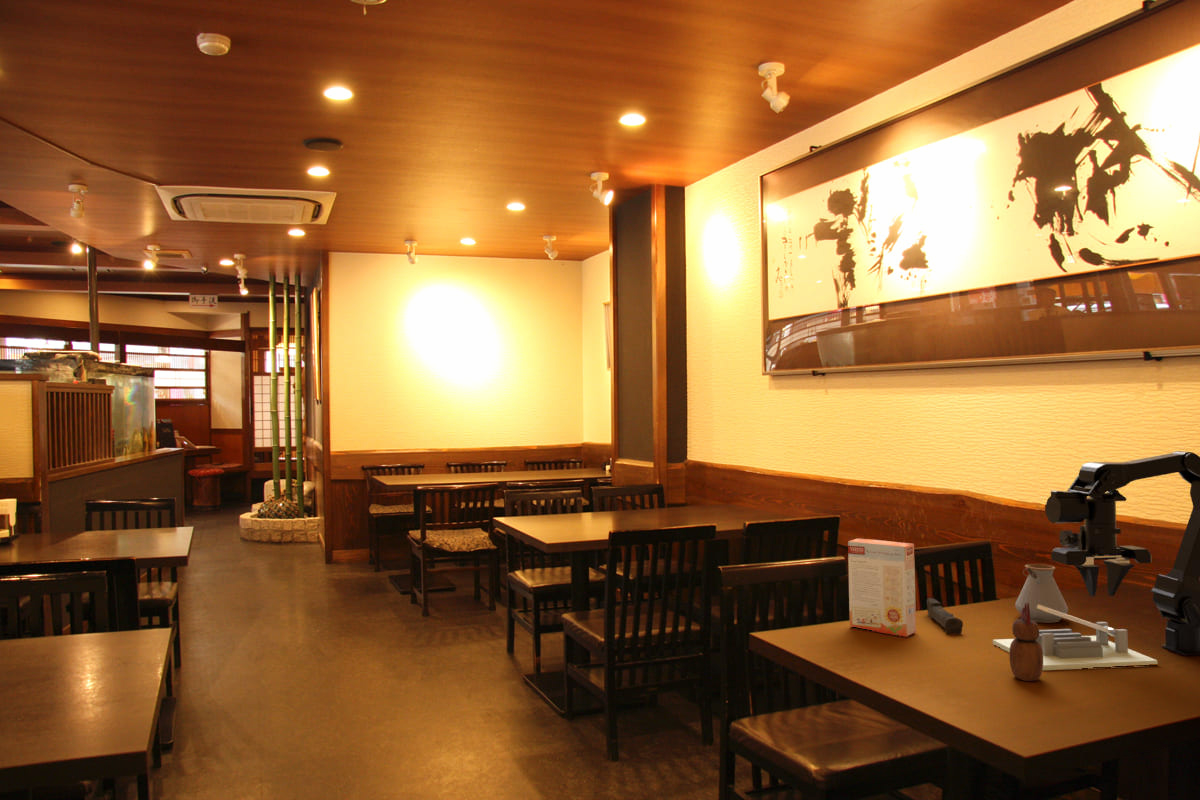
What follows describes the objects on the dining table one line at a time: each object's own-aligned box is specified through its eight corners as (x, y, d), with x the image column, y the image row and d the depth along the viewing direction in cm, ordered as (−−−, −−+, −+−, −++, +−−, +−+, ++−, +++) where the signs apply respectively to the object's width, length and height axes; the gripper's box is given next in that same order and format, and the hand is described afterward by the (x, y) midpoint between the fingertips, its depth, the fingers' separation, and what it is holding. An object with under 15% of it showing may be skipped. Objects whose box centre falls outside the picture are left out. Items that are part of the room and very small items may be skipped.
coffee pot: (1020, 610, 208) (1019, 551, 209) (1072, 617, 201) (1070, 556, 201) (1001, 629, 192) (1000, 565, 192) (1057, 637, 184) (1056, 570, 185)
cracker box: (917, 632, 190) (915, 542, 190) (906, 638, 185) (904, 546, 186) (860, 622, 199) (858, 536, 200) (848, 627, 195) (847, 540, 195)
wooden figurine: (1042, 686, 153) (1040, 606, 153) (1008, 681, 156) (1006, 602, 156) (1044, 675, 159) (1043, 598, 159) (1011, 671, 162) (1010, 595, 162)
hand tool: (963, 635, 188) (963, 615, 188) (945, 635, 188) (945, 615, 188) (940, 615, 207) (940, 596, 207) (923, 614, 207) (923, 596, 207)
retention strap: (1107, 633, 175) (1109, 626, 175) (1120, 639, 171) (1122, 631, 171) (1036, 609, 173) (1038, 602, 174) (1047, 614, 169) (1050, 607, 170)
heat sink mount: (1096, 640, 182) (1095, 614, 182) (1157, 665, 164) (1156, 637, 164) (992, 644, 180) (992, 618, 180) (1043, 670, 162) (1042, 642, 162)
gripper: (1115, 516, 181) (1116, 586, 181) (1034, 518, 180) (1036, 589, 180) (1152, 523, 170) (1154, 598, 170) (1067, 525, 169) (1069, 601, 169)
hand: (1101, 596), depth 173 cm, fingers open, 4 cm apart
